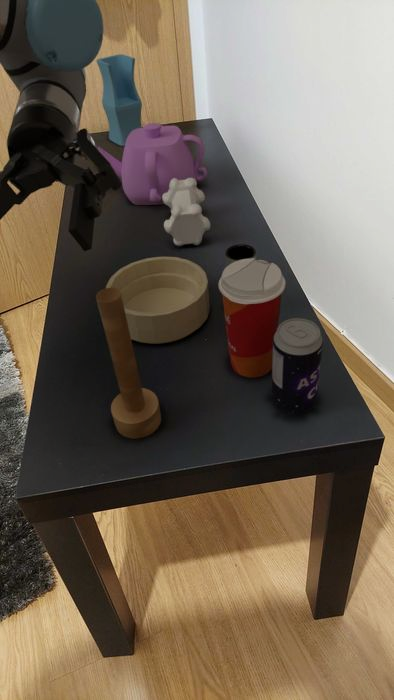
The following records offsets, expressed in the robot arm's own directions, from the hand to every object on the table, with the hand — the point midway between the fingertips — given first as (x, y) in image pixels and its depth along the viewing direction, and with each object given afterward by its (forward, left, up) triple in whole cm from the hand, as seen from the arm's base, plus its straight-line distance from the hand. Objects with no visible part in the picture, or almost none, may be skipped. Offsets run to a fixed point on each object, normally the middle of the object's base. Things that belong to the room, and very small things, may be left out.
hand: (17, 262), depth 48 cm
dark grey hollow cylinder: (+30, +12, -26) cm, 42 cm away
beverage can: (+26, -9, -26) cm, 38 cm away
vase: (+40, +96, -26) cm, 108 cm away
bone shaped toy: (+33, +40, -26) cm, 58 cm away
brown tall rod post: (+7, -2, -26) cm, 27 cm away
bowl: (+18, +17, -26) cm, 36 cm away
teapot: (+34, +61, -26) cm, 75 cm away
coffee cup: (+25, 0, -26) cm, 36 cm away
